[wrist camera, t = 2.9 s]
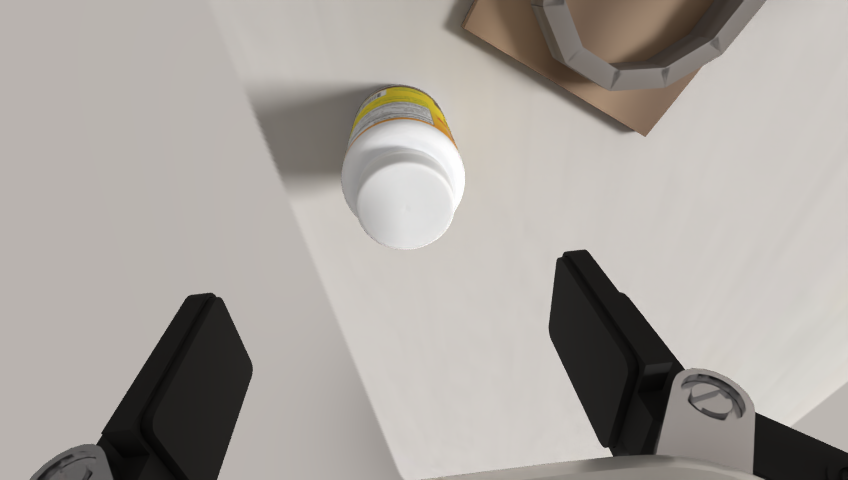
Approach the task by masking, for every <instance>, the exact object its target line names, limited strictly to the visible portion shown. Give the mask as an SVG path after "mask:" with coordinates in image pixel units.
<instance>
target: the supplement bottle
mask: <svg viewBox="0 0 848 480" xmlns="http://www.w3.org/2000/svg"><path fill="white" fill-rule="evenodd" d="M341 183H342V190H343V194H344V197H345V200H346V202H347V204H348V206H349V208H350V209H351V211H352V212H353V213H354V215H355V216H356V217H357V218H358V220H359V222H360V224H361V226H362V228H363V229H364V231H365V232H366V233H367V234H368V235H369V236H370V237H371V238H372V239H374V240H375V241H377V242H378V243H380V244H382V245H384V246H387V247H390V248H394V249H402V250H408V249H416V248H420V247H423V246H426V245H428V244H430V243H432V242H433V241H435V240H436V239H438V238H439V237H440V236H441V235H442V234H443V233H444V232H445V231H446V230H447V228H448V227H449V225H450V223H451V221H452V218H453V215H454V211H455V210H456V208H457V207H458V205H459V203H460V200H461V198H462V195H463V192H464V186H465V171H464V166H463V162H462V159H461V156H460V154H459V151H458V149H457V146H456V144H455V142H454V139H453V137H452V134H451V132H450V129H449V127H448V124H447V122H446V120H445V117H444V115H443V113H442V111H441V109H440V107H439V106H438V104H437V103H436V102H435V100H434V99H433V98H432V97H431V96H429V95H428V94H427V93H425V92H423V91H422V90H420V89H418V88H415V87H412V86H407V85H392V86H387V87H384V88H382V89H379V90H377V91H376V92H374V93H372V94H371V95H370V96H369V97H368V98H367V99H366V100H365V101H364V102H363V103H362V105H361V106H360V108H359V110H358V112H357V114H356V117H355V120H354V124H353V127H352V131H351V135H350V138H349V142H348V146H347V150H346V154H345V158H344V162H343V166H342V174H341Z"/></svg>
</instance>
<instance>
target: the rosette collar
mask: <svg viewBox="0 0 848 480" xmlns="http://www.w3.org/2000/svg"><path fill="white" fill-rule="evenodd" d="M765 2H766V0H474V2H473V4H472V6H471V8H470V10H469V12H468V14H467V16H466V18H465V20H464V22H463V24H462V26H461V27H463V28H464V29H466V30H468V31H469V32H471V33H473V34H474V35H476V36H478V37H479V38H481V39H483V40H484V41H486V42H488V43H489V44H491V45H493V46H494V47H496V48H498V49H499V50H501V51H503V52H504V53H506V54H508V55H509V56H511V57H513V58H514V59H516V60H518V61H519V62H521V63H523V64H524V65H526V66H528V67H529V68H531V69H533V70H534V71H536V72H538V73H539V74H541V75H543V76H544V77H546V78H548V79H549V80H551V81H553V82H554V83H556V84H558V85H559V86H561V87H563V88H564V89H566V90H568V91H569V92H571V93H573V94H574V95H576V96H578V97H580V98H581V99H583V100H585V101H586V102H588V103H590V104H591V105H593V106H595V107H596V108H598V109H600V110H601V111H603V112H605V113H606V114H608V115H610V116H611V117H613V118H615V119H616V120H618V121H620V122H621V123H623V124H625V125H626V126H628V127H630V128H631V129H633V130H635V131H636V132H638V133H640V134H641V135H643V136H645V137H646V135H647V134H648V133H649V132H650V131H651V129H652V128H653V127H654V126H655V124H656V123H657V122H658V121H659V119H660V118H661V117H662V116H663V114H664V113H665V112H666V111H667V109H668V108H669V107H670V106H671V105H672V103H673V102H674V101H675V100H676V98H677V97H678V96H679V95H680V93H681V92H682V91H683V90H684V88H685V87H686V86H687V85H688V84H689V82H690V81H691V80H692V79H693V77H694V76H695V75H696V74H697V72H698V71H699V70H700V69H701V67H702V66H703V65H705V64H707V63H708V62H710V61H712V60H713V59H715V58H717V57H719V56H720V55H722V54H723V53H724V52H725V50H726V49H727V48H728V47H729V45H730V44H731V43H732V42H733V41H734V39H735V38H736V37H737V36H738V35H739V33H740V32H741V31H742V30H743V28H744V27H745V26H746V25H747V24H748V22H749V21H750V20H751V19H752V17H753V16H754V15H755V14H756V13H757V11H758V10H759V9H760V8H761V6H762V5H763V4H764V3H765Z"/></svg>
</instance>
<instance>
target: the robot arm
mask: <svg viewBox="0 0 848 480" xmlns="http://www.w3.org/2000/svg"><path fill="white" fill-rule="evenodd" d="M549 334H550V338H551V340H552V342H553V344H554V347H555V349H556V351H557V353H558V355H559V357H560V359H561V361H562V364H563V366H564V368H565V370H566V372H567V374H568V376H569V378H570V380H571V383H572V385H573V387H574V389H575V391H576V393H577V395H578V397H579V400H580V402H581V404H582V406H583V408H584V410H585V412H586V414H587V416H588V419H589V421H590V423H591V425H592V427H593V429H594V431H595V433H596V435H597V438H598V440H599V442H600V443H601V445H602V446H603V447H604V448H607V447H609V449H610V451H611V453H612V455H613V457H606V458H596V459H587V460H578V461H568V462H559V463H550V464H542V465H534V466H526V467H518V468H510V469H502V470H494V471H486V472H478V473H470V474H462V475H454V476H446V477H438V478H430V479H423V480H848V453H846V452H844V451H842V450H840V449H837V448H835V447H833V446H831V445H828V444H826V443H824V442H821V441H819V440H817V439H815V438H813V437H810V436H808V435H805V434H803V433H801V432H799V431H797V430H794V429H792V428H790V427H788V426H785V425H783V424H781V423H778V422H776V421H774V420H772V419H769V418H767V417H765V416H763V415H760V414H758V413H756V412H755V409H754V404H753V402H752V400H751V399H750V397H749V395H748V394H747V393H746V392H745V391H744V390H743V389H742V388H741V387H740V386H739V385H738V384H737V383H735V382H734V381H732V380H731V379H729V378H728V377H725V376H723V375H721V374H719V373H717V372H714V371H710V370H706V369H697V368H692V369H687V370H685V369H684V368H683V366H682V365H681V364H680V362H679V361H678V360H677V359H676V357H675V356H674V355H673V353H672V352H671V351H670V350H669V348H668V347H667V346H666V345H665V343H664V342H663V341H662V339H661V338H660V337H659V336H658V334H657V333H656V332H655V331H654V329H653V328H652V327H651V325H650V324H649V323H648V322H647V320H646V319H645V318H644V316H643V315H642V314H641V313H640V311H639V310H638V309H637V308H636V306H635V305H634V304H633V302H632V301H631V300H630V299H629V297H628V296H626V295H625V294H624V293H621V292H619V291H618V290H617V289H616V287H615V286H614V285H613V283H612V282H611V281H610V279H609V278H608V277H607V276H606V274H605V273H604V272H603V270H602V269H601V268H600V266H599V265H598V264H597V263H596V261H595V260H594V259H593V257H592V256H591V255H590V253H589V252H588V251H587V250H576V251H567V252H564V254H563V256H562V257H560V258H558V259H557V262H556V270H555V278H554V287H553V295H552V303H551V312H550V320H549ZM252 371H253V367H252V363H251V360H250V358H249V356H248V354H247V351H246V350H245V347H244V345H243V343H242V340H241V339H240V336H239V334H238V332H237V330H236V327H235V325H234V323H233V321H232V319H231V317H230V314H229V312H228V310H227V308H226V306H225V303H224V302H223V300H222V298H220V297H216V296H215V295H214V294H213V293H204V294H196V295H190V296H188V297H187V298H186V299H185V301H184V302H183V304H182V306H181V307H180V309H179V310H178V312H177V314H176V315H175V317H174V318H173V320H172V321H171V323H170V325H169V326H168V328H167V329H166V331H165V333H164V334H163V336H162V337H161V339H160V341H159V342H158V344H157V345H156V347H155V349H154V350H153V352H152V353H151V355H150V356H149V358H148V360H147V361H146V363H145V364H144V366H143V368H142V369H141V371H140V372H139V374H138V375H137V377H136V379H135V380H134V382H133V384H132V385H131V387H130V388H129V390H128V391H127V393H126V395H125V396H124V398H123V400H122V401H121V403H120V404H119V406H118V407H117V409H116V410H115V412H114V414H113V415H112V417H111V419H110V420H109V422H108V423H107V425H106V426H105V428H104V430H103V431H102V433H101V434H102V436H101V438H100V440H99V441H98V443H97V444H96V445H94V444H84V445H80V446H77V447H74V448H70V449H69V450H67V451H65V452H62V453H61V454H59V455H57V456H56V457H54V458H53V459H52V460H50V461H48V462H47V463H46V464H45V465H43V466H42V467H41V468H40V469H39V470H38V471H37V472H36V473H35V474H34V475H33V476H32V477H31V478H30V480H217V478H218V475H219V472H220V469H221V466H222V463H223V460H224V457H225V454H226V451H227V448H228V445H229V442H230V439H231V436H232V433H233V430H234V427H235V424H236V421H237V418H238V416H239V413H240V410H241V407H242V404H243V401H244V398H245V394H246V392H247V389H248V386H249V383H250V380H251V377H252Z"/></svg>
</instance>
